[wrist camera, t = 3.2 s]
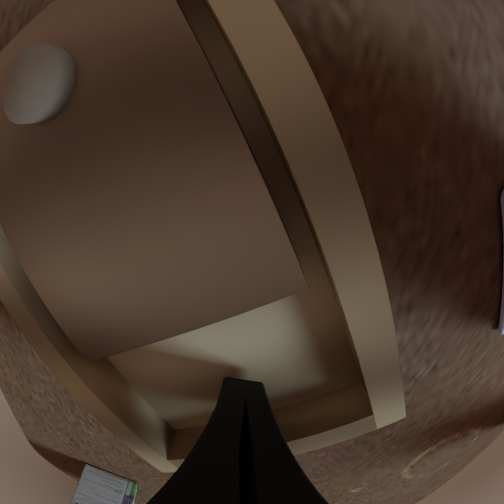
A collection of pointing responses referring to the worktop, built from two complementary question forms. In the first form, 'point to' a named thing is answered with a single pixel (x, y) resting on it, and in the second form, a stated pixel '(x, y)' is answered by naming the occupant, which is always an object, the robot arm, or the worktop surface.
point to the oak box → (268, 316)
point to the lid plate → (132, 179)
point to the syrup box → (103, 488)
